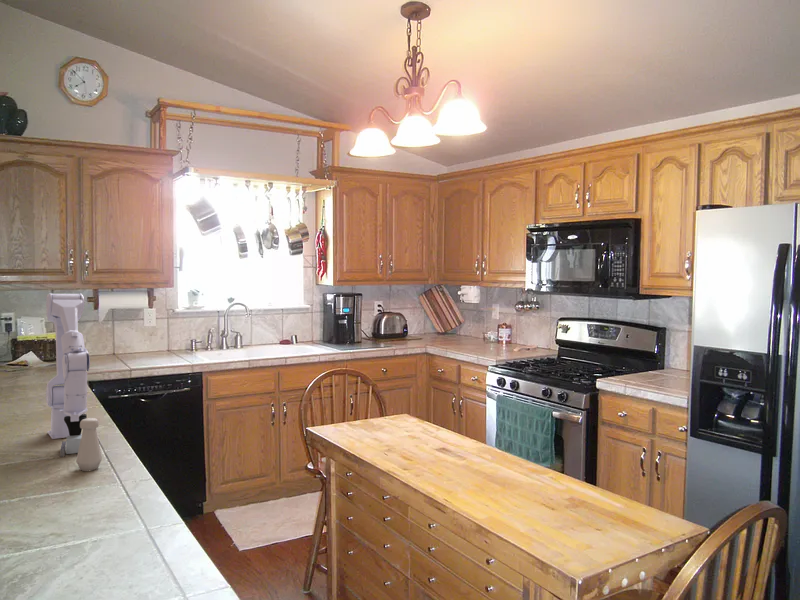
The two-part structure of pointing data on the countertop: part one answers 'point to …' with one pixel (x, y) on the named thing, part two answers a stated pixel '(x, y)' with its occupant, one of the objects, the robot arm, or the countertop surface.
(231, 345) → the countertop surface
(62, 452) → the grey flat bars
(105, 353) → the countertop surface
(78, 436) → the block
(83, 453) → the salt shaker
